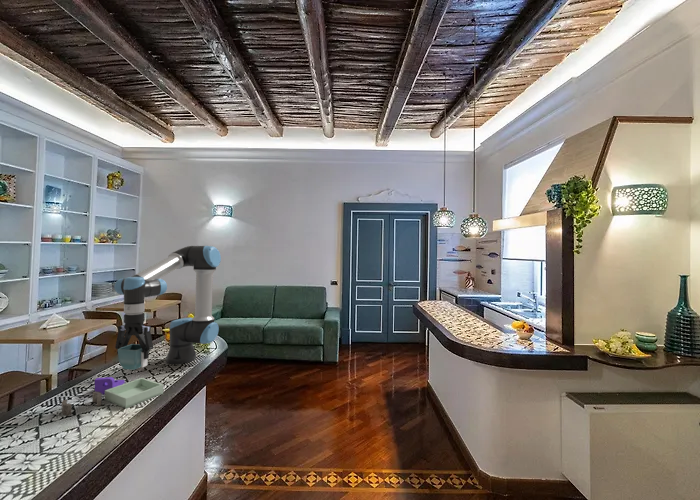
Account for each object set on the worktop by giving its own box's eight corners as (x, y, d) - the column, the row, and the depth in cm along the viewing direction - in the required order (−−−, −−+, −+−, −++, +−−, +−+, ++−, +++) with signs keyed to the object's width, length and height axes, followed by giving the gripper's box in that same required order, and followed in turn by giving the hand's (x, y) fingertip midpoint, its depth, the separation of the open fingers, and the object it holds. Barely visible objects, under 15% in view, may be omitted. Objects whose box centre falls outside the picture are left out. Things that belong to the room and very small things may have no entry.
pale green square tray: (142, 386, 157) (142, 377, 157) (163, 393, 149) (163, 384, 149) (104, 399, 143) (104, 390, 143) (126, 408, 136) (126, 398, 136)
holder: (98, 399, 143) (97, 390, 143) (103, 404, 139) (103, 395, 139) (59, 411, 133) (59, 401, 133) (64, 417, 129) (64, 406, 129)
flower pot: (135, 371, 141) (136, 350, 141) (115, 370, 141) (116, 349, 142) (149, 365, 149) (150, 344, 150) (131, 364, 150) (131, 343, 150)
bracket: (112, 394, 149) (112, 378, 149) (94, 395, 148) (94, 379, 148) (124, 383, 161) (124, 368, 161) (108, 384, 160) (108, 369, 160)
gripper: (104, 314, 143) (104, 367, 144) (150, 315, 140) (150, 370, 141) (118, 310, 151) (119, 361, 151) (163, 312, 148) (163, 364, 148)
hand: (134, 365), depth 146 cm, fingers closed on flower pot, 9 cm apart
